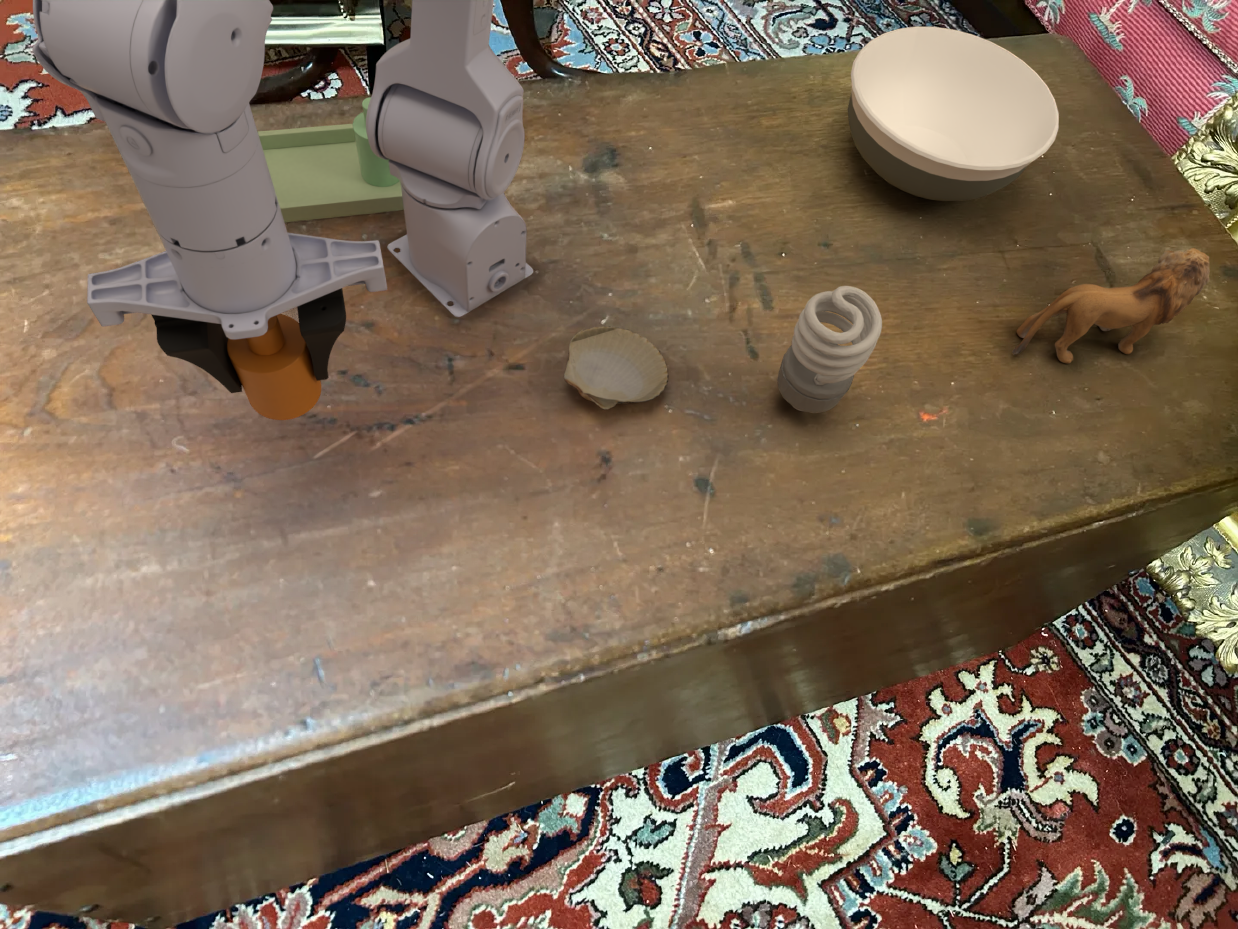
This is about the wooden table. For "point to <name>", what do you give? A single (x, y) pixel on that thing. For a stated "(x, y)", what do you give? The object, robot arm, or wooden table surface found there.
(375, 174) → the green bottle
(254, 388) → the amber bottle
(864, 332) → the light bulb
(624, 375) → the seashell
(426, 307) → the wooden table surface
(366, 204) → the tray
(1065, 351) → the lion figurine
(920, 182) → the bowl
